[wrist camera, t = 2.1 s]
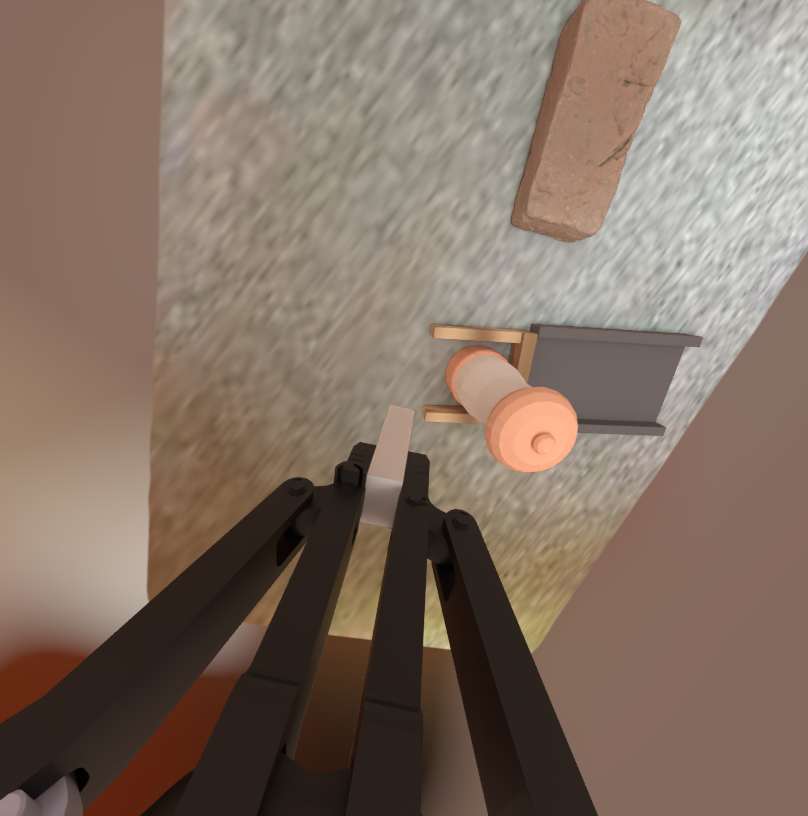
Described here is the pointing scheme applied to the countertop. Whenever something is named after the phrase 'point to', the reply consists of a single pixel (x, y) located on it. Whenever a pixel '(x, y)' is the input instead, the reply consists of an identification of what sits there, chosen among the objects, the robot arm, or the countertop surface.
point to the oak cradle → (520, 340)
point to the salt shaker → (512, 410)
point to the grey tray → (609, 374)
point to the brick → (592, 114)
